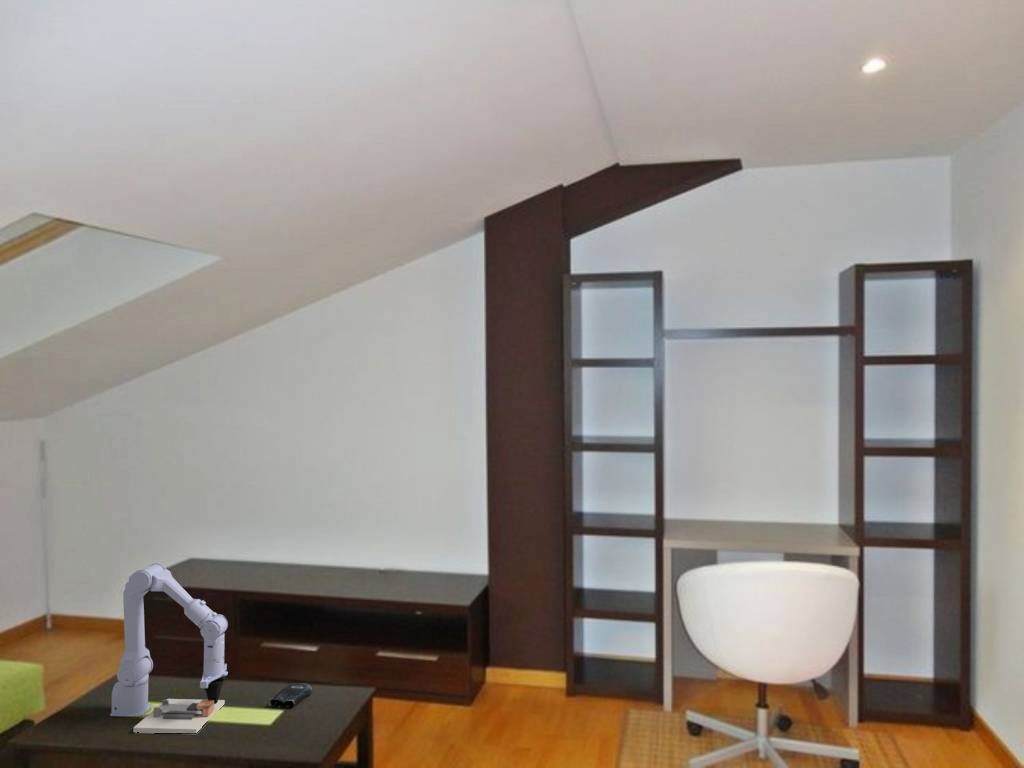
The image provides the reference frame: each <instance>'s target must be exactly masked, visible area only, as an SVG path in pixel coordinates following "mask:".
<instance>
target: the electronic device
mask: <svg viewBox="0 0 1024 768" xmlns="http://www.w3.org/2000/svg"><path fill="white" fill-rule="evenodd" d="M312 693H313V688H312V686H311V685H310V684H308V683H304V682H301V683H300V682H297V683H292V684H288V685H287V686H285V687H284V688H282V689H281V690H280V691H278V693H277V694H275V695H274V696H273V697H271V698H268V699H267V704H268V706H269V707H270V706H272V707H275V706H274V705H275V703H276V702H277V704H278V703H281V705H282V706H280V707H279V708H282V707H283V708H284V707H285V708H286V707H287V706H288V705H289V704H288V703H287V702H289V703H290V702H291V701H292V704H293V705H292V706H293V707H292V706H291V707H292V708H291V709H293V708H294V707H295V706H297V704H298V703H300V702H301V701H302V700H303V699H306V698H307V697H308V696H310V695H311V694H312ZM285 702H286V703H285ZM285 705H286V706H285ZM287 708H288V707H287Z"/></svg>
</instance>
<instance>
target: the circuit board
mask: <svg viewBox="0 0 1024 768" xmlns="http://www.w3.org/2000/svg"><path fill="white" fill-rule="evenodd" d="M202 700H203V699H194V698H193V699H191V698H190V699H189V698H187V699H186V698H183V699H182V698H180V699H179V698H167V699H162V701H161V704H163V703H166V704H183V705H191V704H192V703H200V702H201V701H202ZM225 701H226V700H225V699H218V702H217V703H216V704H214V711H213V712H212V713H211V714H210V715H209V716H203V713H202V714H190V713H168V712H160V707H159V706H160V705H161V704H160V705H158V706H153V708H152V709H153V711H151V712H150V713H149V714H147V715H146V716H145V717H144V718H143V719H142V720H141V721H139V723H137V724H135V726H133V731H132V733H133V732H135V733H134V734H154V733H197V732H198V731H199V730H200V729H201V728H202V726H203V725H204V724H205V723H206V722H207V721H208V720H209V719H210V718H211V717H212V716H213V715H214V714H215V713H216V711H218V710H219V709H220V708H221V707H222V706H223V705H224V704H226V703H225ZM224 706H225V705H224ZM224 706H223V707H224ZM223 707H222V708H223ZM222 708H221V709H222ZM221 709H220V710H221ZM220 710H219V711H220ZM219 711H218V712H219ZM216 714H217V713H216ZM202 729H203V728H202ZM202 729H201V730H202ZM201 730H200V731H201ZM200 731H199V732H200ZM137 732H139V733H137ZM199 732H198V733H199ZM198 733H197V734H198Z"/></svg>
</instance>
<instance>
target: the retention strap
mask: <svg viewBox="0 0 1024 768" xmlns="http://www.w3.org/2000/svg"><path fill="white" fill-rule="evenodd" d="M198 704H199V703H192V704H191V705H183V704H166V703H163V704H162V703H161V704H160V706H159V705H158V706H159V707H160V712H168V713H190V714H202V713H203V709H197V705H198Z"/></svg>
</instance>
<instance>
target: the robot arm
mask: <svg viewBox="0 0 1024 768" xmlns="http://www.w3.org/2000/svg"><path fill="white" fill-rule="evenodd" d="M149 591H150V592H164V593H165V594H166V595H168V596H169V597H170V598H171V599H173V601H175V602H176V603H177V604H179V605H180V607H183V611H184V615H185V616H186V617H187V618H188V619H189V620H190V621H191V622H192V623H194V624H195V625H196V627H198V628H199V630H200V631H199V632H200V635H201V637H202V638H203V672H202V677H201V680H200V682H199V688H200V689H204V691H205V693H206V697H207V700H214V704H216V703H217V702H218V700H220V699H219V698H220V693H221V690H222V687H223V685H224V683H225V680H226V676H228V673H229V672H228V671H227V670H228V669H227V667H228V666H227V665H228V664H227V663H225V632H226V630H227V629H228V626H229V623H228V620H227V618H226V616H225V615H223V614H220V613H219V614H218V613H217V612H216V611H213V610H212V609H211V608H210V607H209V606H207V605H206V604H207V602H206V601H205V600H204V599H203V600H201V599H200V598H193V597H192V596H191V595H190V594H189V593H188V592H187V591H186V590H185V589H184V588H183V586H182V585H181V584H179V583H178V581H177V580H176V579H175V578H174V576H173V575H172V573H171V571H170V570H168V569H167V568H166V567H165V566H164V565H163V564H162V563H159V562H155V563H152V564H150V565H148V566H146V567H143V568H141V569H138V570H136V571H135V572H134V573H132V574H130V576H128V581H127V584H126V586H125V588H124V589H123V592H122V594H123V595H122V597H123V601H122V603H123V625H124V626H123V627H124V628H123V629H124V653H123V654H122V657H121V658H120V660H119V668H118V670H117V672H116V676H117V682H115V684H114V686H113V688H112V691H111V713H109V716H110V717H130V718H131V717H134V718H135V717H136V718H139V717H141V718H142V717H143V716H144V715H145V714H146V713H147V712H149V710H151V709H153V708H154V707H155V706H154V703H153V704H152V703H149V676H150V675H149V674H150V673H151V672H152V670H153V667H154V663H153V659H152V657H151V653H150V652H151V651H150V650H149V648H147V647H146V637H145V636H146V635H145V633H146V632H145V609H144V606H145V605H144V603H145V602H144V597H145V595H146V594H147V593H148V592H149ZM150 708H151V709H150Z"/></svg>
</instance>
